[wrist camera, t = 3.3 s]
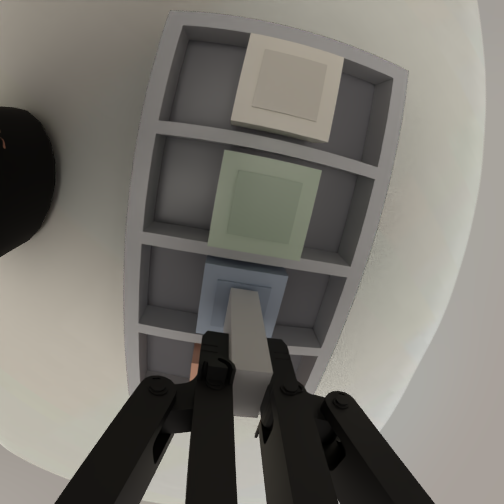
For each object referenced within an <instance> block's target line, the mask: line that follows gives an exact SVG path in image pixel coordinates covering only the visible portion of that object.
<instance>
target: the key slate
mask: <svg viewBox="0 0 504 504" xmlns="http://www.w3.org/2000/svg"><path fill="white" fill-rule="evenodd" d="M287 280H288V274H287V272H286V270H285V268H284V267H278V266H271V265H265V264H259V263H253V262H247V261H241V260H235V259H229V258H223V257H217V256H211V255H207V258H206V262H205V268H204V275H203V282H202V289H201V296H200V303H199V311H198V318H197V326H196V333H199V334H205V333H206V332H207V331H214V332H221V333H223V327H224V322H225V317H226V311H227V306H228V301H229V295H230V290H231V288H237V289H244V290H251V291H257V292H258V295H259V300H260V305H261V311H262V316H263V322H264V327H265V332H266V338H271V337H272V334H273V330H274V327H275V323H276V320H277V316H278V313H279V309H280V306H281V302H282V298H283V295H284V291H285V287H286V284H287Z"/></svg>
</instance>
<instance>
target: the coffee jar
mask: <svg viewBox="0 0 504 504" xmlns="http://www.w3.org/2000/svg"><path fill="white" fill-rule="evenodd" d="M54 185H55V160H54V156H53V151H52V147H51V143H50V140H49V138H48V136H47V134H46V132H45V130H44V128H43V126H42V124H41V123H40V122H39V121H38V120H37V119H36V118H35V117H34V116H32V115H31V114H30V113H29V112H28V111H26V110H22V109H17V108H12V107H0V257H1V256H3V255H4V254H6V253H8V252H9V251H11V250H13V249H14V248H16V247H18V246H20V245H21V244H23V243H25V242H27V241H28V240H30V238H31V237H32V236H33V235H34V234H35V233H36V232H37V231H38V229H39V228H40V227H41V225H42V223H43V221H44V219H45V216H46V214H47V212H48V210H49V208H50V204H51V200H52V195H53V190H54Z"/></svg>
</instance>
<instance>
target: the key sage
mask: <svg viewBox="0 0 504 504" xmlns="http://www.w3.org/2000/svg"><path fill="white" fill-rule="evenodd" d="M321 173H322V170H318V169H314V168H310V167H306V166H302V165H297V164H293V163H289V162H284V161H280V160H275V159H270V158H266V157H261V156H256V155H251V154H246V153H240V152H235V151H229V150H224V155H223V160H222V165H221V170H220V175H219V181H218V186H217V192H216V197H215V203H214V209H213V214H212V220H211V226H210V232H209V238H208V245H207V246H211V247H217V248H223V249H229V250H235V251H241V252H247V253H253V254H259V255H265V256H271V257H277V258H283V259H289V260H295V261H300V258H301V254H302V250H303V246H304V242H305V239H306V235H307V231H308V227H309V223H310V219H311V215H312V211H313V207H314V202H315V198H316V194H317V190H318V186H319V181H320V177H321Z"/></svg>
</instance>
